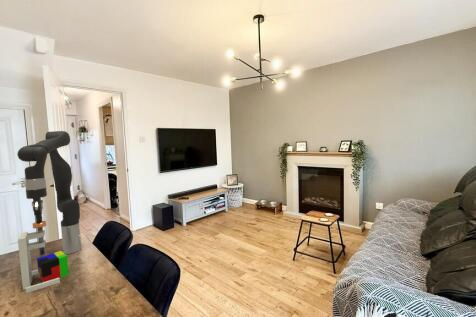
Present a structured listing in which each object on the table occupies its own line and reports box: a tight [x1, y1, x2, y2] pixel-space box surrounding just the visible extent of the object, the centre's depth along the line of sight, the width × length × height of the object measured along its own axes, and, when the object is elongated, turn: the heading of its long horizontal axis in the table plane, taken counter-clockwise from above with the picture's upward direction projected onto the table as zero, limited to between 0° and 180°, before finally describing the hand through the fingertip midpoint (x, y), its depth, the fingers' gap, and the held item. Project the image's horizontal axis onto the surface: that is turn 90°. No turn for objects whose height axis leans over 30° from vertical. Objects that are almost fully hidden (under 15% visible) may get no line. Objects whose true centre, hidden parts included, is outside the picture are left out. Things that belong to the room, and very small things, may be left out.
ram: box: [32, 220, 47, 256], centre depth 113 cm, size 5×5×16 cm
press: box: [17, 229, 61, 294], centre depth 113 cm, size 14×18×24 cm
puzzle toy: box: [36, 250, 70, 283], centre depth 116 cm, size 10×10×10 cm
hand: (39, 222), depth 112 cm, fingers closed
